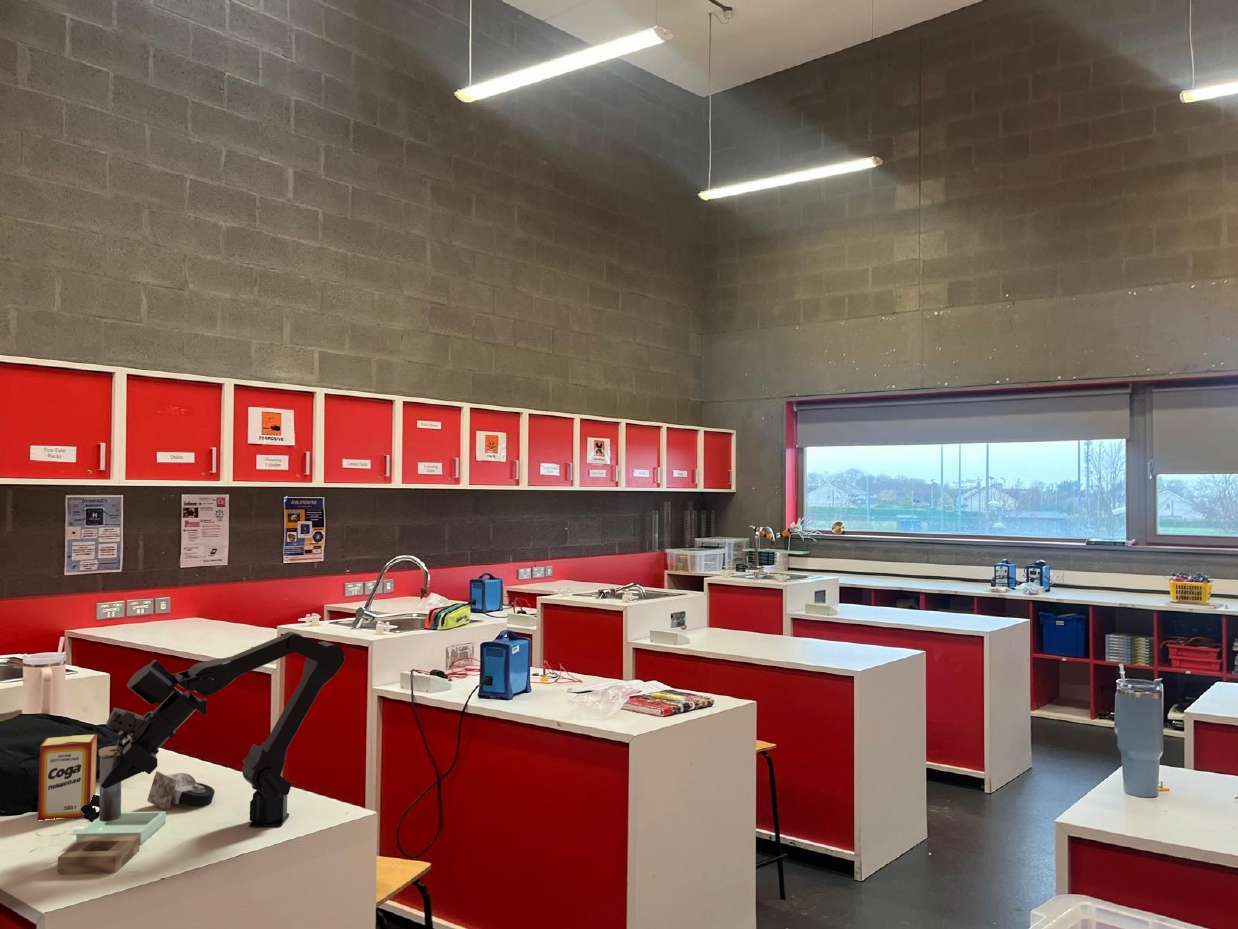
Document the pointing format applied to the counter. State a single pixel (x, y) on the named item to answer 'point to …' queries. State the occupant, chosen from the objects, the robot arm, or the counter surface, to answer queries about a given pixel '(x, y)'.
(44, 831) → the counter surface
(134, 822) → the tray
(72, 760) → the baking soda box
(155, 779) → the caster wheel
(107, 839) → the block
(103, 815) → the pin
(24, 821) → the counter surface
